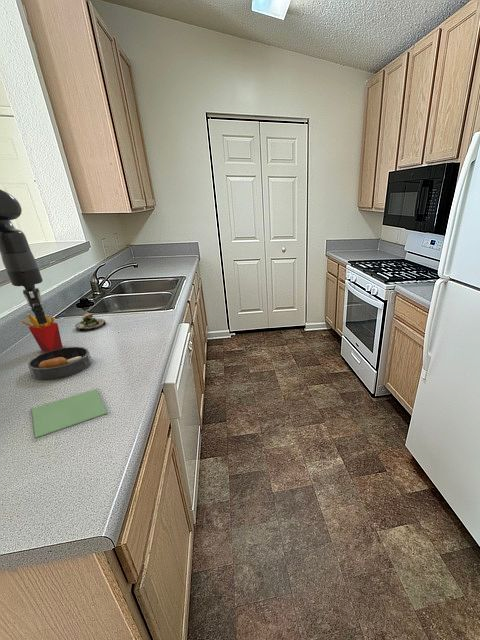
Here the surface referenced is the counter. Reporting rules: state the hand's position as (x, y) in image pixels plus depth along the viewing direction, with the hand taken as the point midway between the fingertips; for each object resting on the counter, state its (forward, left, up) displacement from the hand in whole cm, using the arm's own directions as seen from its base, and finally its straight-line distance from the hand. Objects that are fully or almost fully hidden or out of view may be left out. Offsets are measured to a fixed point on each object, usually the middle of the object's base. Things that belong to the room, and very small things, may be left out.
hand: (42, 319), depth 105 cm
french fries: (-16, +16, -18) cm, 29 cm away
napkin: (+19, -23, -18) cm, 35 cm away
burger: (-16, +41, -18) cm, 47 cm away
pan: (-1, +2, -18) cm, 18 cm away
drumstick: (-1, +1, -17) cm, 17 cm away
